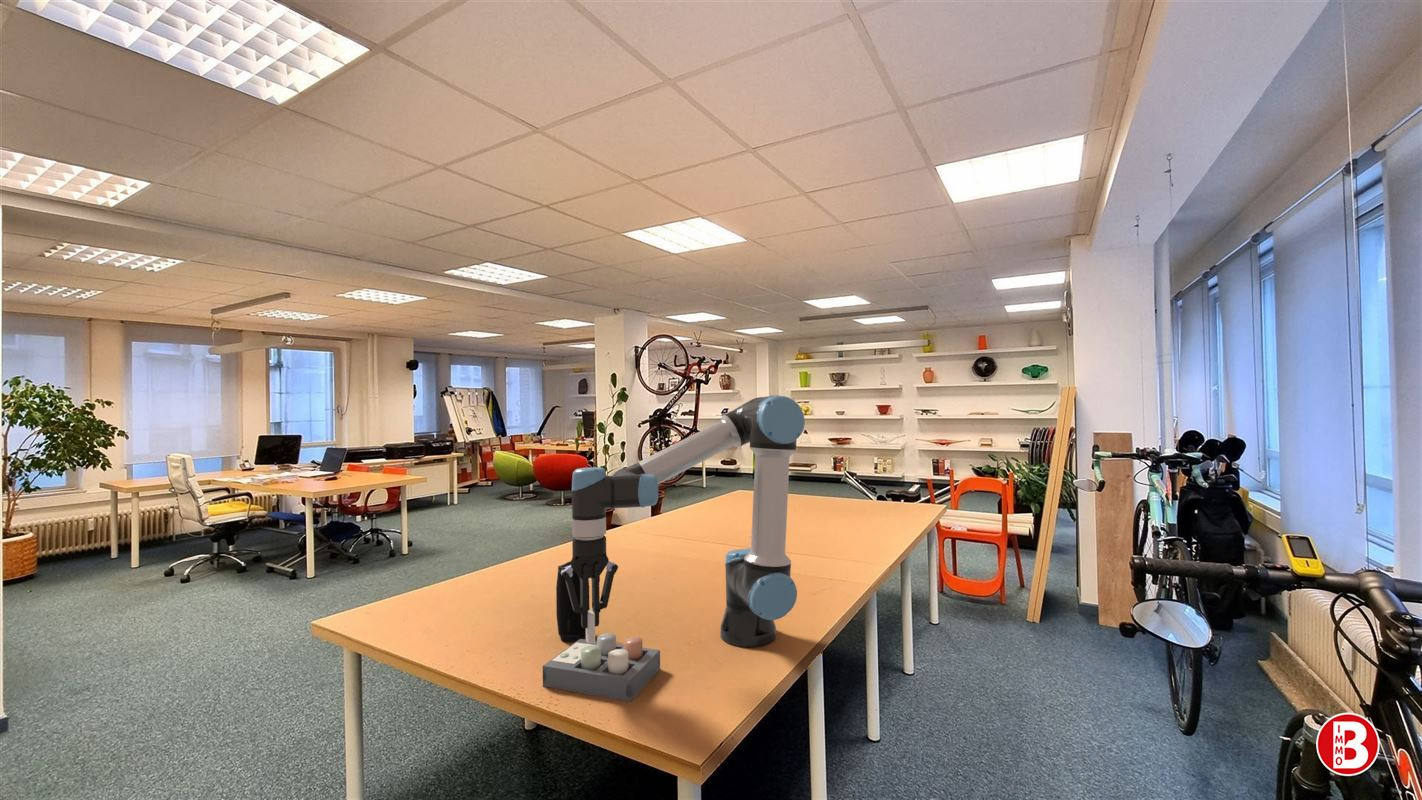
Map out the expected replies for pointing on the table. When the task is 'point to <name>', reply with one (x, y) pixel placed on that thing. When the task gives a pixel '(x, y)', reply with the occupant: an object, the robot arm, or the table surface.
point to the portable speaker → (568, 608)
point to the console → (600, 673)
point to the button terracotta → (634, 648)
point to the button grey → (606, 643)
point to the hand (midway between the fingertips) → (590, 641)
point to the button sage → (591, 657)
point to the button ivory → (618, 662)
